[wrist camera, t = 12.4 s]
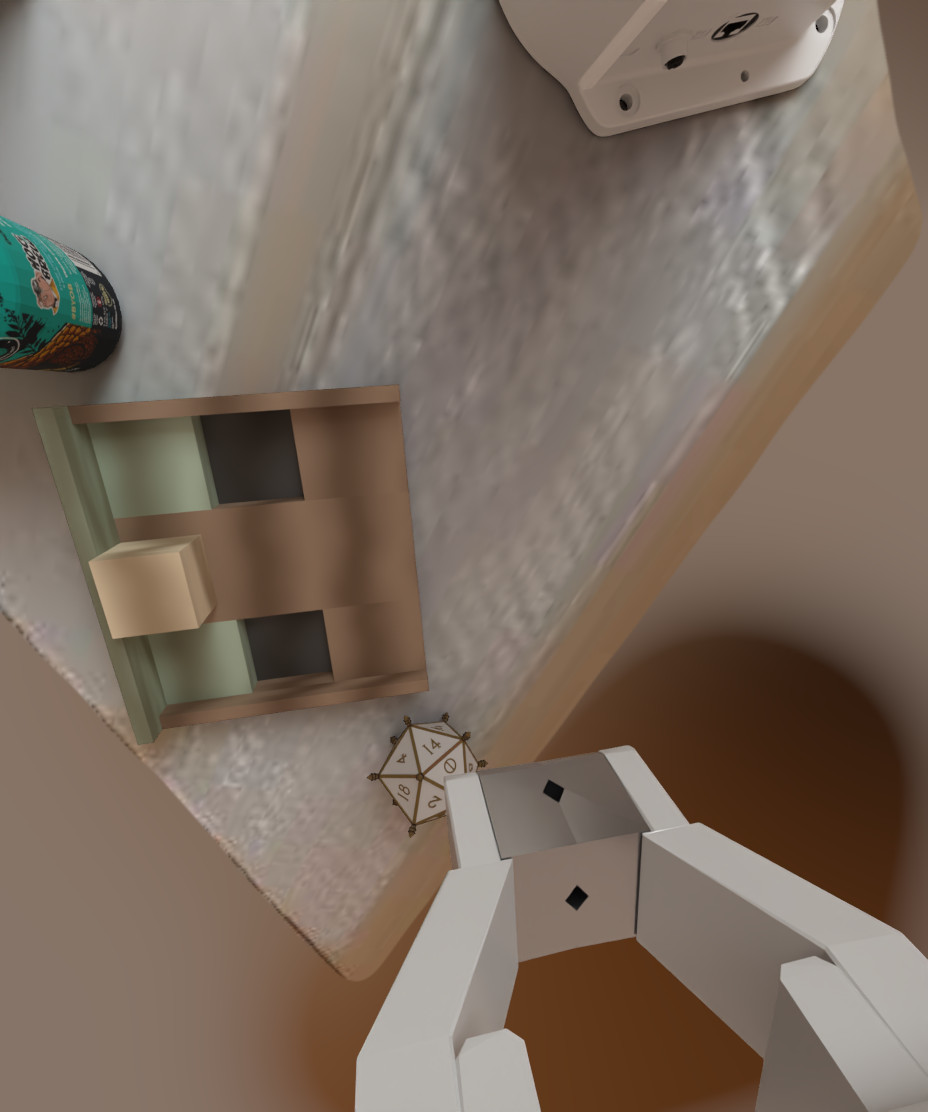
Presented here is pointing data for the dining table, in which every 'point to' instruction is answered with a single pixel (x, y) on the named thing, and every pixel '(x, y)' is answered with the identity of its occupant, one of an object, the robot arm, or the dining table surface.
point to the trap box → (254, 545)
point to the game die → (425, 768)
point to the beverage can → (52, 305)
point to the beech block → (154, 586)
